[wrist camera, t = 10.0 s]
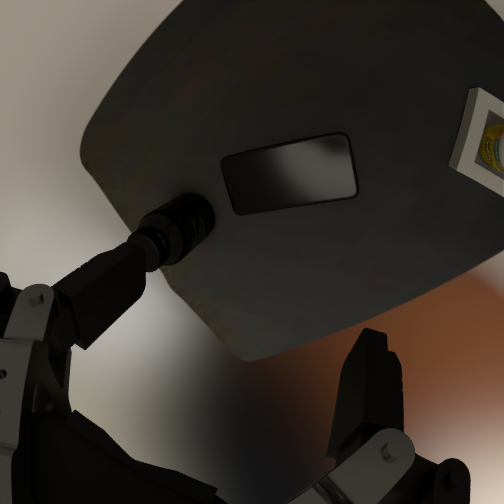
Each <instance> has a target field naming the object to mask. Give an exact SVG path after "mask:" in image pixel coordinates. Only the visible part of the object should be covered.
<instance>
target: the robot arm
mask: <svg viewBox="0 0 504 504" xmlns="http://www.w3.org/2000/svg"><path fill="white" fill-rule="evenodd" d="M145 286H146V258H145V250H144V249H143V248H140V247H138V246H135V245H133V244H130V243H128V242H124V243H122V244H121V245H119V246H118V247H116V248H115V249H113V250H110V251H106V252H103V253H100V254H98V255H96V256H95V257H93V258H92V259H90V260H89V261H88V262H86V263H84V264H83V265H81V267H80V268H77V269H76V270H75V271H73V272H71V273H70V274H68V275H67V276H66V277H64V278H63V279H61V280H60V281H58V282H57V283H56V284H54V285H53V286H51V287H50V286H48V285H45V284H34V285H31V286H28V287H26V288H25V289H24V290H20V289H17V288H14V287H11V284H10V281H9V278H8V275H7V274H5V273H3V272H0V504H228V503H226V502H225V501H224V500H223V499H221V498H220V497H218V496H217V495H215V493H216V491H217V489H218V488H216V487H213V486H211V485H208V484H206V483H203V482H201V481H198V480H196V479H194V478H191V477H189V476H187V475H185V474H182V473H180V472H178V471H174V470H170V469H165V468H162V467H158V466H154V465H151V464H147V463H144V462H140V461H137V460H135V459H133V458H131V457H130V456H129V455H128V454H127V453H126V452H125V451H124V450H123V449H122V448H121V447H120V446H119V445H118V444H117V443H116V442H115V441H114V440H113V439H112V438H111V437H110V436H109V435H108V434H107V433H106V432H105V430H103V429H102V428H100V427H99V426H97V425H96V424H95V423H93V422H92V421H90V420H89V419H87V418H86V417H85V416H83V415H82V414H80V413H79V412H78V411H77V410H74V411H73V412H72V411H71V406H70V402H69V396H68V390H69V376H70V365H71V364H70V363H71V355H72V351H71V347H72V346H73V345H74V344H76V345H78V346H79V347H81V348H82V349H84V350H86V349H87V348H88V347H89V346H90V345H91V344H92V343H93V342H94V341H95V340H96V339H97V338H98V337H99V336H100V335H101V334H102V333H104V331H106V330H107V328H109V327H110V326H111V325H112V324H113V323H114V322H115V321H116V320H117V319H118V318H119V317H120V316H121V315H122V314H123V313H124V312H125V311H127V310H128V308H129V307H131V306H132V305H133V304H134V303H135V302H136V301H137V300H138V299H139V298H140V297H141V296H142V294H143V292H144V290H145ZM401 380H402V368H401V364H400V362H399V359H398V357H397V355H396V353H395V352H391V351H388V345H387V335H386V334H385V333H382V332H378V331H375V330H372V329H369V328H364V329H363V330H362V332H361V334H360V336H359V337H358V340H357V341H356V342H355V344H354V346H353V348H352V349H351V351H350V353H349V354H348V356H347V358H346V360H345V362H344V364H343V367H342V370H341V374H340V381H339V388H338V394H337V401H336V406H335V412H334V418H333V423H332V429H331V434H330V439H329V444H328V449H327V453H326V457H330V458H335V459H336V463H335V468H334V469H333V470H331V471H330V472H329V473H327V474H326V475H325V476H323V477H322V478H321V479H319V480H318V481H316V482H315V483H314V484H312V485H311V486H309V487H308V488H307V489H306V490H304V491H302V492H301V493H299V494H298V495H296V496H295V497H293V498H292V499H290V500H289V501H287V502H285V503H284V504H470V481H471V479H470V473H469V470H468V468H467V466H466V465H465V464H464V463H463V462H462V461H460V460H458V459H455V458H450V459H446V460H444V461H443V462H441V463H440V464H436V463H434V462H431V461H429V460H427V459H425V458H423V457H421V456H419V455H417V454H416V453H415V448H414V445H413V443H412V441H411V440H410V438H409V437H408V436H407V435H406V434H405V433H404V412H403V411H404V408H403V391H402V389H403V383H402V381H401Z"/></svg>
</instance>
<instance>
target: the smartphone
mask: <svg viewBox="0 0 504 504" xmlns="http://www.w3.org/2000/svg"><path fill="white" fill-rule="evenodd" d="M220 166H221V170H222V174H223V177H224V181H225V184H226V187H227V191H228V194H229V198H230V201H231V204H232V208H233V210H234V212H235V213H236V214H237V215H248V214H255V213H262V212H267V211H274V210H279V209H285V208H292V207H298V206H305V205H311V204H318V203H325V202H332V201H339V200H346V199H352V198H355V197H356V196H357V195H358V193H359V186H358V180H357V174H356V169H355V165H354V158H353V153H352V149H351V144H350V140H349V138H348V136H347V135H346V134H344V133H341V132H337V133H331V134H325V135H320V136H315V137H309V138H304V139H299V140H294V141H289V142H285V143H280V144H276V145H271V146H267V147H262V148H257V149H253V150H249V151H246V152H242V153H238V154H234V155H230V156H227V157H225V158H223V159H222V160H221V163H220Z"/></svg>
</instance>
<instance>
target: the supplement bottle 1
mask: <svg viewBox="0 0 504 504" xmlns="http://www.w3.org/2000/svg"><path fill="white" fill-rule="evenodd" d="M213 227H214V214H213V211H212V208H211V206H210V205H209V204H208V202H207V201H206V200H205V199H203V198H202V197H200V196H198V195H196V194H183V195H181V196H179V197H177V198H175V199H173V200H171V201H169V202H167V203H166V204H164V205H162V206H160V207H158V208H157V209H155V210H153V211H151V212H150V213H148V214H147V215H145V216H144V217H143V218H142V219H141V221H140V223H139V225H138V229H137V230H136V231H135V232H134V233H132V234H131V235H130V236H129V237H128V240H127V242H128V243H130V244H133V245H135V246H138V247H140V248H143V249H144V250H145V258H146V272H153V271H156V270H157V269H158V268H159V267H161V266H171V265H174V264H176V263H178V262H179V261H181V260H182V259H183V258H184V257H185V256H186V255H187V254H188V253H190V252H191V251H192V250H193V249H194V248H195V247H196V246H197V245H198V244H200V243H201V242H202V241H203V240H204V239H205V238H206V237H207V236H208V235H209V234H210V233H211V231H212V229H213Z"/></svg>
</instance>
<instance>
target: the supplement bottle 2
mask: <svg viewBox="0 0 504 504" xmlns="http://www.w3.org/2000/svg"><path fill="white" fill-rule="evenodd" d="M477 152H478V154H479V156H480V158H481V160H482V161H483V162H484V163H485V164H486V165H488V166H489V167H491V168H493V169H495V170H497V171H500V172H502V173H504V125H502V124H494V123H490V124H486V125H485V127H484V130H483V134H482V138H481V141H480V145H479V148H478V151H477Z"/></svg>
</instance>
